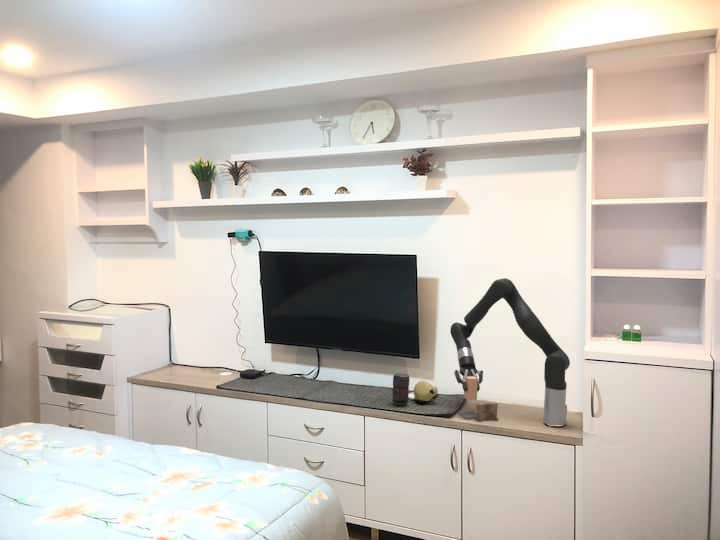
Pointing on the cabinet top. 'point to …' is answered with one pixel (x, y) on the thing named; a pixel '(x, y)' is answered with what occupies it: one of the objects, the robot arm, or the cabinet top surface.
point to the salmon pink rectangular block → (471, 388)
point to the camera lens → (400, 389)
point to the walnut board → (486, 412)
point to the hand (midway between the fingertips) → (471, 390)
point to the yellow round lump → (424, 391)
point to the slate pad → (468, 414)
